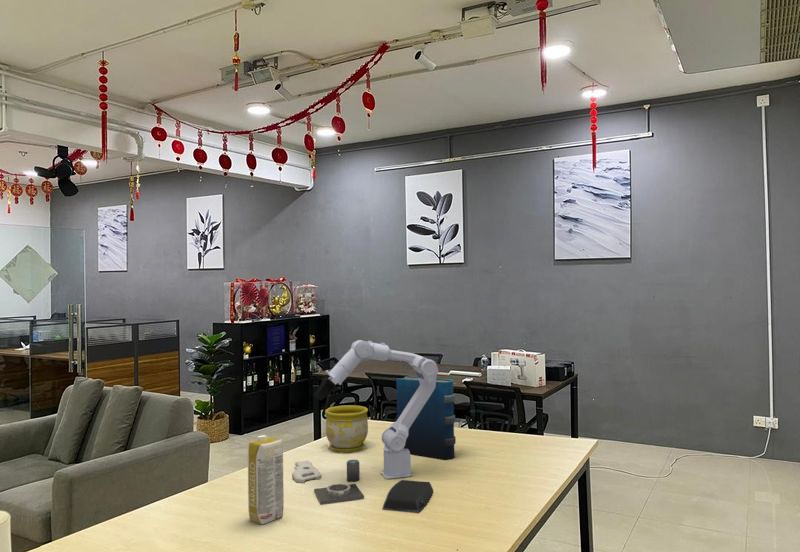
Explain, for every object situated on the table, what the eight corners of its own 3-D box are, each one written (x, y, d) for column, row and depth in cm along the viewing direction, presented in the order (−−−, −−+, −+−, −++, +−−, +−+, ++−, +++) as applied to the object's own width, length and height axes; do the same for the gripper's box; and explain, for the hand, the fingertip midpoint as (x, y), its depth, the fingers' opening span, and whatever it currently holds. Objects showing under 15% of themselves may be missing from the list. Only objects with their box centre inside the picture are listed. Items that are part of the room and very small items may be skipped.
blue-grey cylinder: (357, 477, 205) (357, 458, 205) (361, 481, 201) (360, 462, 201) (345, 478, 204) (345, 460, 204) (348, 482, 199) (348, 463, 199)
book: (460, 455, 230) (458, 379, 230) (450, 461, 222) (448, 382, 223) (408, 447, 242) (407, 375, 243) (397, 452, 235) (396, 378, 236)
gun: (285, 460, 215) (311, 457, 219) (285, 469, 215) (311, 466, 219) (297, 477, 199) (325, 473, 203) (297, 487, 199) (325, 483, 203)
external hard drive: (379, 511, 175) (379, 497, 175) (397, 489, 193) (397, 477, 193) (421, 515, 171) (420, 501, 171) (435, 492, 190) (435, 480, 190)
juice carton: (270, 510, 175) (269, 431, 176) (287, 516, 170) (286, 435, 171) (244, 520, 168) (243, 437, 169) (261, 527, 163) (260, 441, 164)
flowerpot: (316, 450, 240) (316, 411, 240) (344, 440, 255) (344, 403, 255) (349, 457, 230) (349, 415, 230) (377, 446, 245) (376, 407, 245)
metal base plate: (355, 486, 195) (355, 479, 195) (364, 498, 184) (364, 490, 184) (314, 491, 191) (313, 484, 191) (320, 504, 179) (320, 496, 179)
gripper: (333, 360, 209) (307, 388, 206) (337, 360, 195) (309, 391, 192) (348, 373, 209) (322, 402, 206) (352, 374, 195) (325, 405, 192)
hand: (317, 397), depth 199 cm, fingers open, 7 cm apart
